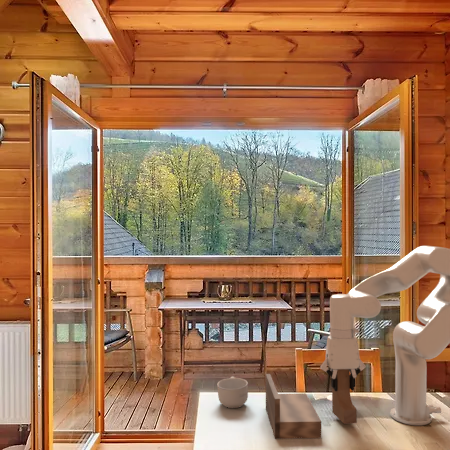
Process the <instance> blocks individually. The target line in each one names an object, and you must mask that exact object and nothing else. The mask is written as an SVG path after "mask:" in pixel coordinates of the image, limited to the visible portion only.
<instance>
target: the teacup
mask: <svg viewBox="0 0 450 450" xmlns="http://www.w3.org/2000/svg"><path fill="white" fill-rule="evenodd" d="M216 384H217V385H216V386H217V394H218V395H217V396H218V401H219V402H220V404H222V405H223V406H224V407H225V408H227V407H228V408H227V409H238V408H240V407H242V406H244V404H246V403H247V401H248V397H249V387H248V385H249V383H248V381H247V380H246V379H244V378H239V377H235V376H230V378H228V377H227V378H224V379H221V380H219V381H218V382H217V383H216Z"/></svg>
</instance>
